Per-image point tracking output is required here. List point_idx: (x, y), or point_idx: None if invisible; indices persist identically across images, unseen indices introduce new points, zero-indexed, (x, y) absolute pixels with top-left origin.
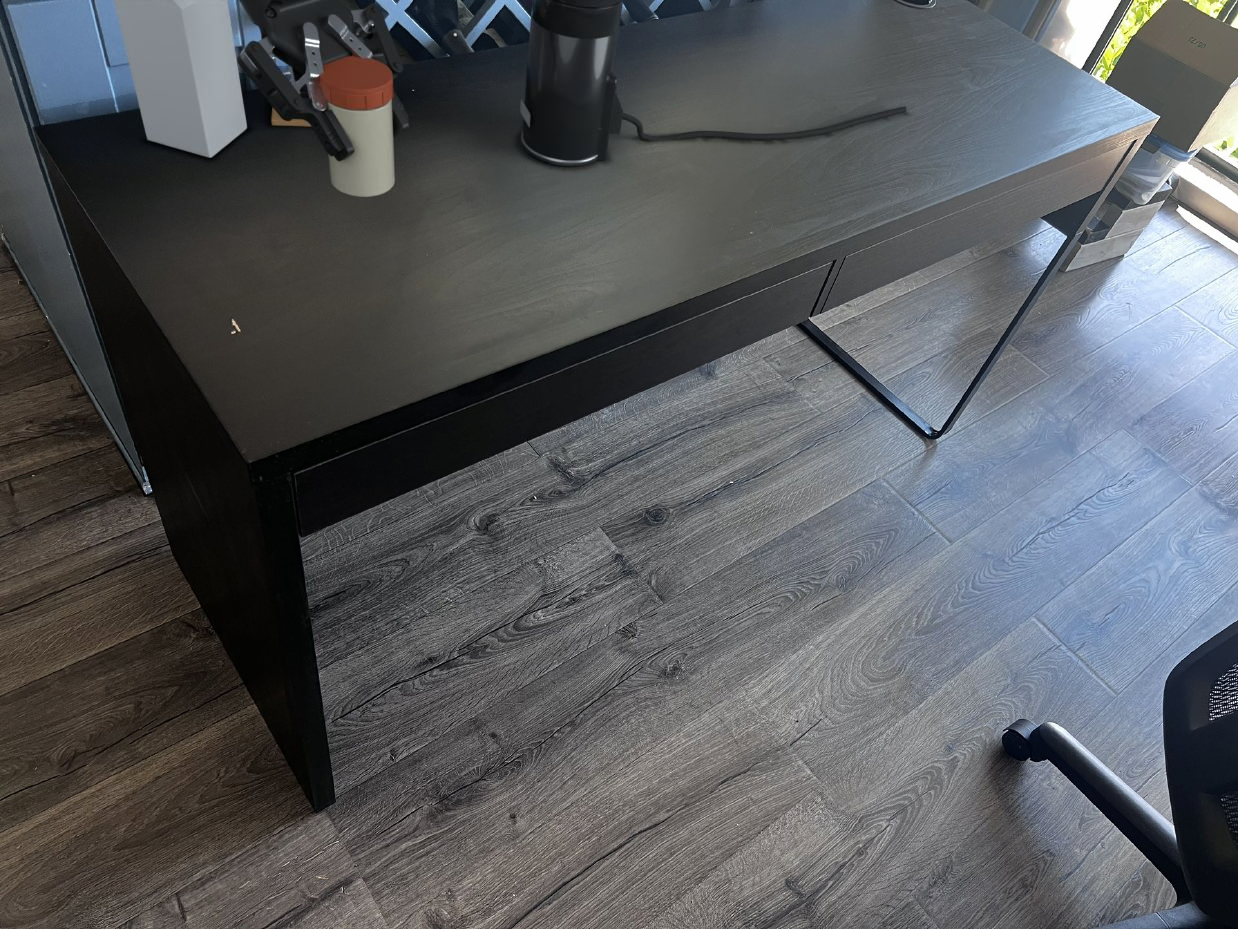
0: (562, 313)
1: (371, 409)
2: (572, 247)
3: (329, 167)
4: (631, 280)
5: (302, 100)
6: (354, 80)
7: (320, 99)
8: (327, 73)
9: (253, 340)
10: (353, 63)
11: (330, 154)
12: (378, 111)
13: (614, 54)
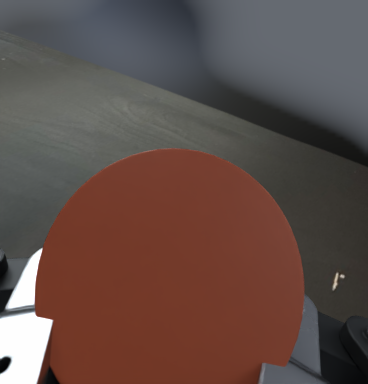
0: (161, 110)
1: (317, 150)
2: (83, 136)
3: None
4: (100, 93)
5: (358, 335)
6: (220, 229)
7: None
8: (256, 344)
9: (335, 256)
10: (115, 319)
11: None
12: None
13: None
